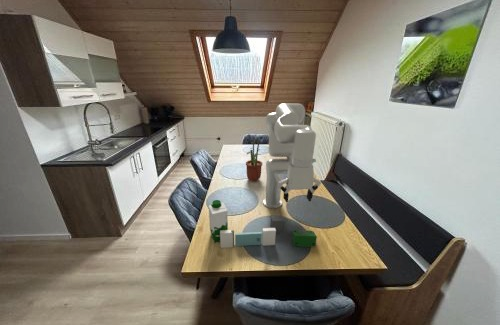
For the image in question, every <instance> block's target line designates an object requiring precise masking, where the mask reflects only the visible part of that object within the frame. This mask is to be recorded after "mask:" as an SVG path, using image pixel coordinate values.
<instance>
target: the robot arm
mask: <svg viewBox="0 0 500 325" xmlns="http://www.w3.org/2000/svg"><path fill="white" fill-rule="evenodd" d="M305 115H306V109H305V106H304V105H303V104H302V103H296V102H295V103H289V102H287V103H285V102H284V103H280V104H278V105H277V107H276V108H275V111H274V112H271V113H268V114H267V115H266V118H265V123H266V124H265V125H266V128H267V130H268V154H269V156H270V157H273V158H270V159H267V160H266V162H265V170H266V182H265V183H266V184H265V186H266V187H265V188H266V189H265V198H264V199H263V201H262V204H263V206H265V207H266V208H268V209H278V208H280V207H282V205H283V201H282V200H281V194H282V193H281V191H282V192H283V197H282V198H283V200H284V201H285V203H288V202H289V196H290V194H289V192H290V191H292V190H295V191H296V190H298V191H299V190H307V193H306V199H307V200H308V202H311V201H312V198H313V195H314V193H315V191H317V190H318V188H319V187H320V185H321V184H322V182H321V181H320V180H319V179H316V178H314V176H315V175H314V174H315V172H314V164H313V163H316V161H317V159H316V158H314V152H315V145H316V138H317V133H316V132H315V131H314V130H313V128H312V127H311V125H309V124H301V123H302V121H303V120H304V119H305ZM280 175H286V177H285V178H283V179H282V178H281V176H280ZM314 183H315V184H314ZM285 184H286V185H285ZM284 185H285V186H284Z"/></svg>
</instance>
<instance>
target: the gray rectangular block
mask: <svg viewBox="0 0 500 325" xmlns="http://www.w3.org/2000/svg"><path fill="white" fill-rule="evenodd" d="M269 224H270V225H269V228H275V229H276V232H281V233H283V230H284V229H283V228H284V218H283V216H282V214H278V215H270V223H269Z"/></svg>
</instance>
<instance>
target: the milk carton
mask: <svg viewBox="0 0 500 325" xmlns="http://www.w3.org/2000/svg"><path fill="white" fill-rule="evenodd" d="M208 218H209V219H208V220H209V230H210V235H211V238H212V240H213V243H214V244H215V243H218V242H220V231H221V230H229V227H228V225H229V224H228V208H227V207H226V205H225V203H224V202H223V201H222V202H221V201H220V199H219V200H218V199H215V200H213V201H212V203H211V204H209V205H208Z"/></svg>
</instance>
